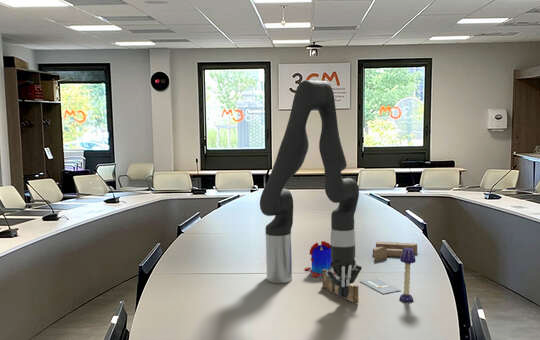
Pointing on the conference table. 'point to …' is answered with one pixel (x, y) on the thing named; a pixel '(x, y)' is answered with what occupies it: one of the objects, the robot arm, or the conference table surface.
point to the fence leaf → (352, 292)
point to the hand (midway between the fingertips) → (343, 297)
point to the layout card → (380, 286)
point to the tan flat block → (326, 281)
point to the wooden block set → (391, 249)
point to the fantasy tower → (320, 258)
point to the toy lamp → (407, 272)
